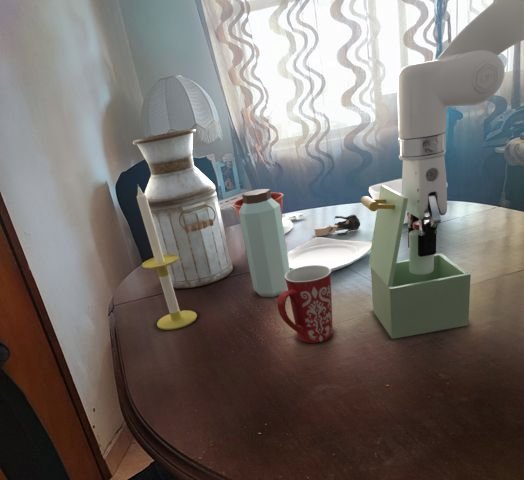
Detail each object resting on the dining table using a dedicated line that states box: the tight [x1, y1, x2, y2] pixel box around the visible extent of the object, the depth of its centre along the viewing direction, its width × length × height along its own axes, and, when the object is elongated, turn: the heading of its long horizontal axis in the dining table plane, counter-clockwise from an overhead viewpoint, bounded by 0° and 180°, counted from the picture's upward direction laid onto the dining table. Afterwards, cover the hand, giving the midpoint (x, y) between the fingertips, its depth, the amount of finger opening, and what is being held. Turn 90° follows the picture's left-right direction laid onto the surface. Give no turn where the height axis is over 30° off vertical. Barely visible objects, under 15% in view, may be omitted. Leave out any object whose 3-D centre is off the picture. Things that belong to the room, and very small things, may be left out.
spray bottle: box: [282, 213, 305, 235], centre depth 173 cm, size 3×11×24 cm
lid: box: [360, 185, 408, 287], centre depth 85 cm, size 15×13×5 cm
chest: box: [370, 253, 472, 340], centre depth 91 cm, size 15×13×10 cm
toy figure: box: [313, 214, 361, 237], centre depth 153 cm, size 7×6×15 cm
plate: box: [287, 236, 372, 273], centre depth 133 cm, size 24×24×3 cm
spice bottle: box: [408, 220, 435, 275], centre depth 87 cm, size 4×4×9 cm
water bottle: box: [238, 188, 290, 298], centre depth 114 cm, size 10×10×25 cm
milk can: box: [132, 128, 234, 289], centre depth 132 cm, size 24×21×40 cm
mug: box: [277, 265, 334, 344], centre depth 91 cm, size 13×9×14 cm
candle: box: [136, 184, 198, 331], centre depth 106 cm, size 10×10×32 cm
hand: (421, 250), depth 87 cm, fingers closed on spice bottle, 4 cm apart
